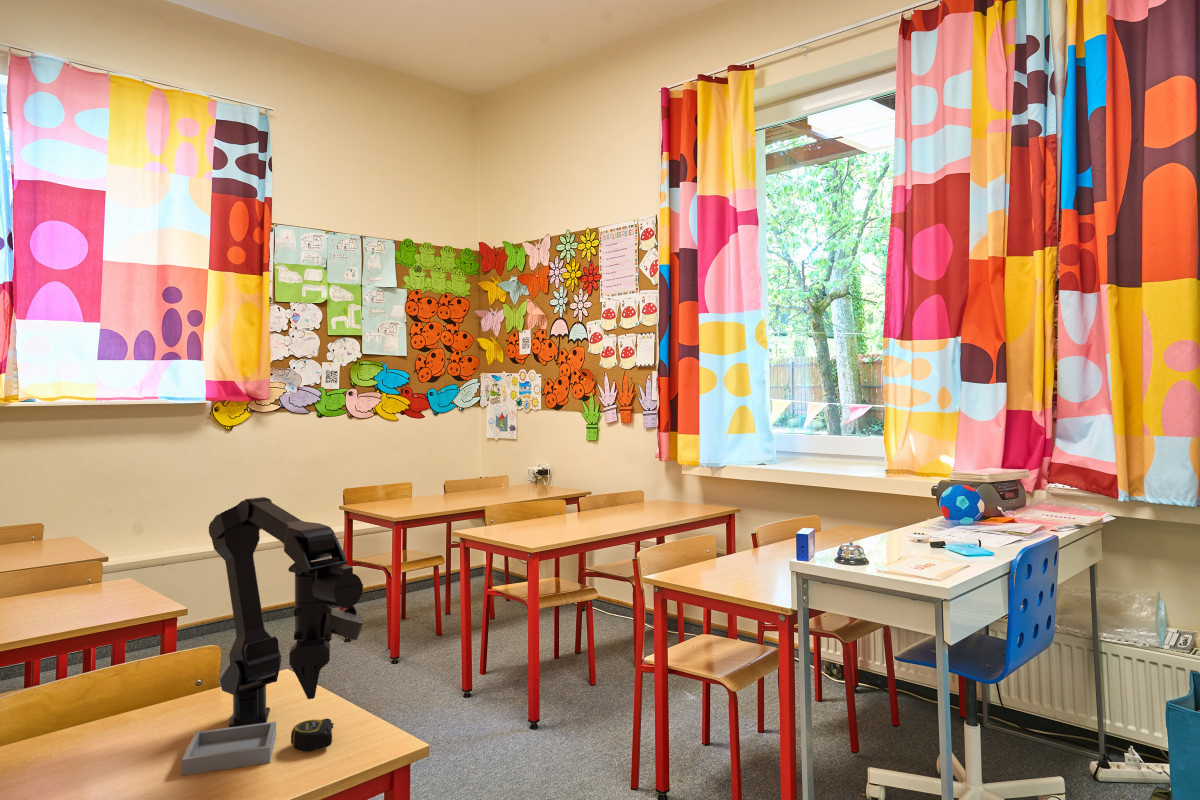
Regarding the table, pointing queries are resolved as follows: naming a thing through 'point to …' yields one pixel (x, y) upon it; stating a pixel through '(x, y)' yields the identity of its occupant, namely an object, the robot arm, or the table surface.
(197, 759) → the tray
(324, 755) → the table surface
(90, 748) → the table surface
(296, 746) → the tape measure
